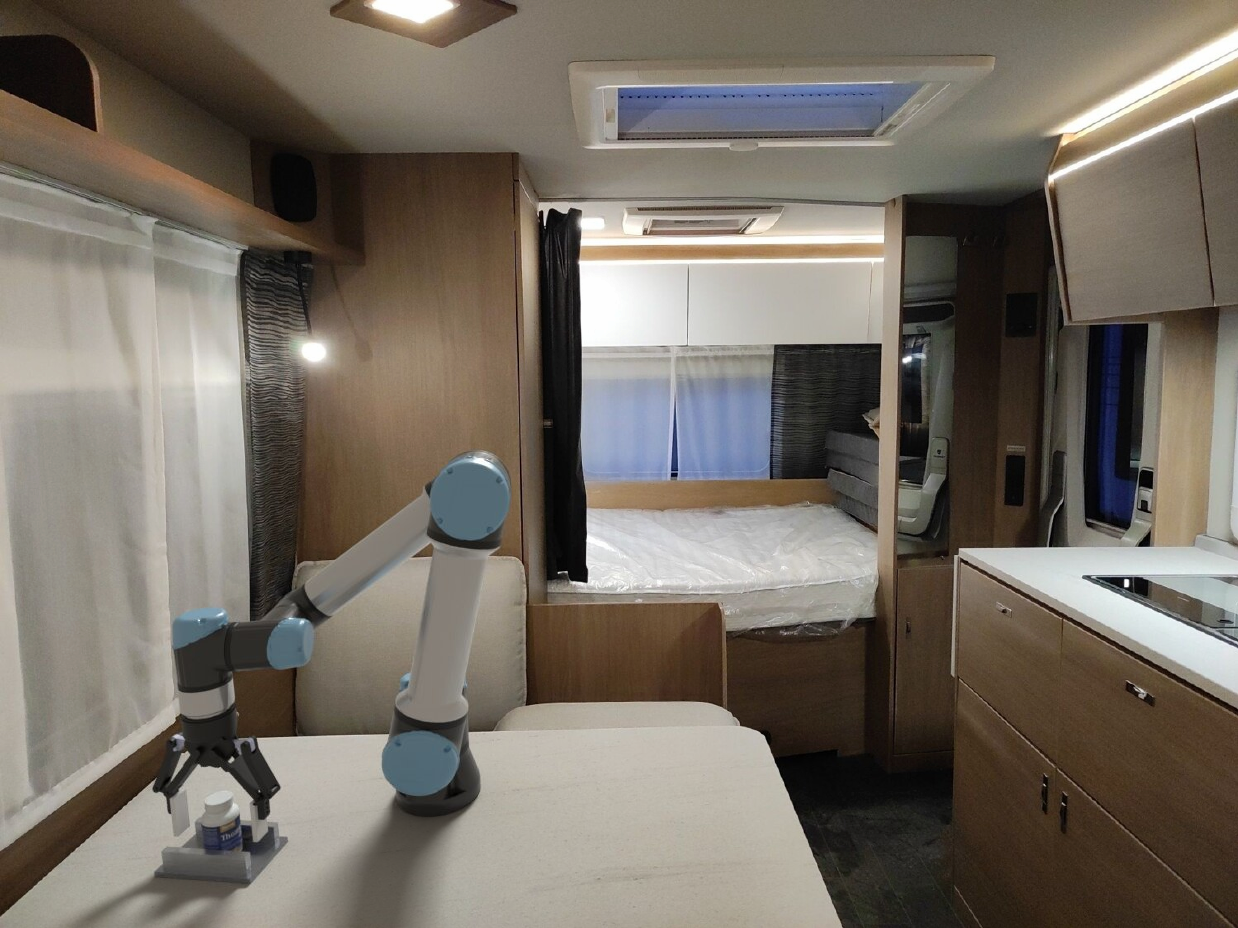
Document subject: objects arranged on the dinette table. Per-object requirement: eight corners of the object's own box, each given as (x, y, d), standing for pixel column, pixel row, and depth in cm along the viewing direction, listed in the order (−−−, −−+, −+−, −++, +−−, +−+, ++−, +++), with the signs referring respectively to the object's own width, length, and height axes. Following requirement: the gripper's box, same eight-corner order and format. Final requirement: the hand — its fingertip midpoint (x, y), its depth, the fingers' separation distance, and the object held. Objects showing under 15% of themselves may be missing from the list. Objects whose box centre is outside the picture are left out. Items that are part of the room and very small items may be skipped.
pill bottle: (226, 867, 113) (221, 809, 112) (197, 863, 114) (190, 805, 113) (250, 844, 118) (245, 789, 117) (222, 841, 119) (216, 786, 118)
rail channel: (287, 841, 120) (286, 819, 120) (250, 883, 110) (248, 860, 110) (199, 835, 122) (197, 814, 122) (154, 876, 112) (152, 853, 112)
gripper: (296, 700, 115) (307, 823, 118) (153, 694, 118) (166, 814, 121) (268, 723, 108) (280, 854, 111) (116, 716, 111) (131, 844, 114)
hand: (221, 833), depth 116 cm, fingers open, 13 cm apart
